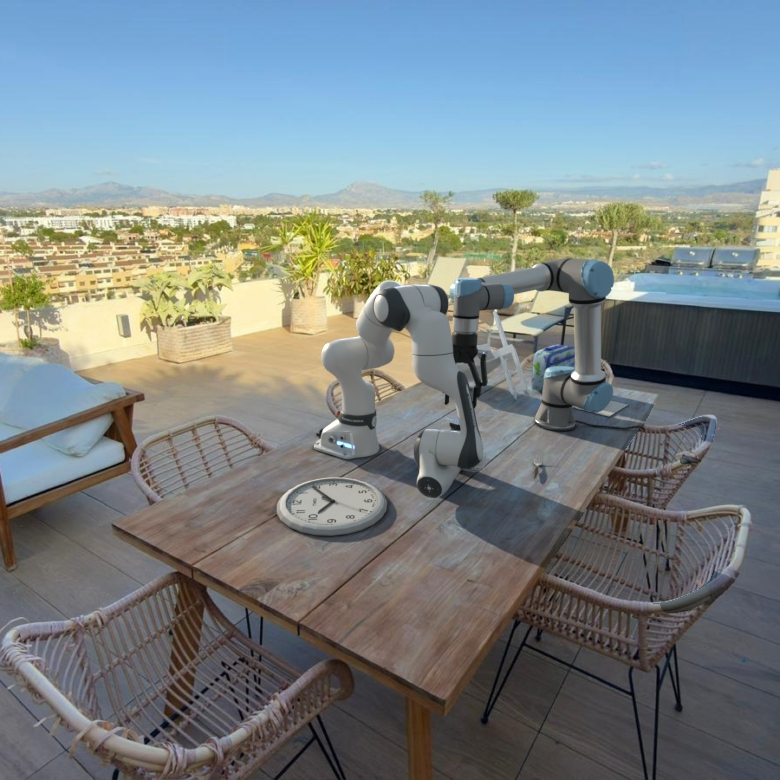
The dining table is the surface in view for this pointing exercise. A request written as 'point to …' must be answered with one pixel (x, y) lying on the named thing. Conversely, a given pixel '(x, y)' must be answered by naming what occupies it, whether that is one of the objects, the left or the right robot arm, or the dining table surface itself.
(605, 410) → the invitation card
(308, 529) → the wall clock
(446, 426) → the dining table surface
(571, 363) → the lunch box
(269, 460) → the dining table surface
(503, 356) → the white plastic object
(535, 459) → the fork
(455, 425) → the lid
